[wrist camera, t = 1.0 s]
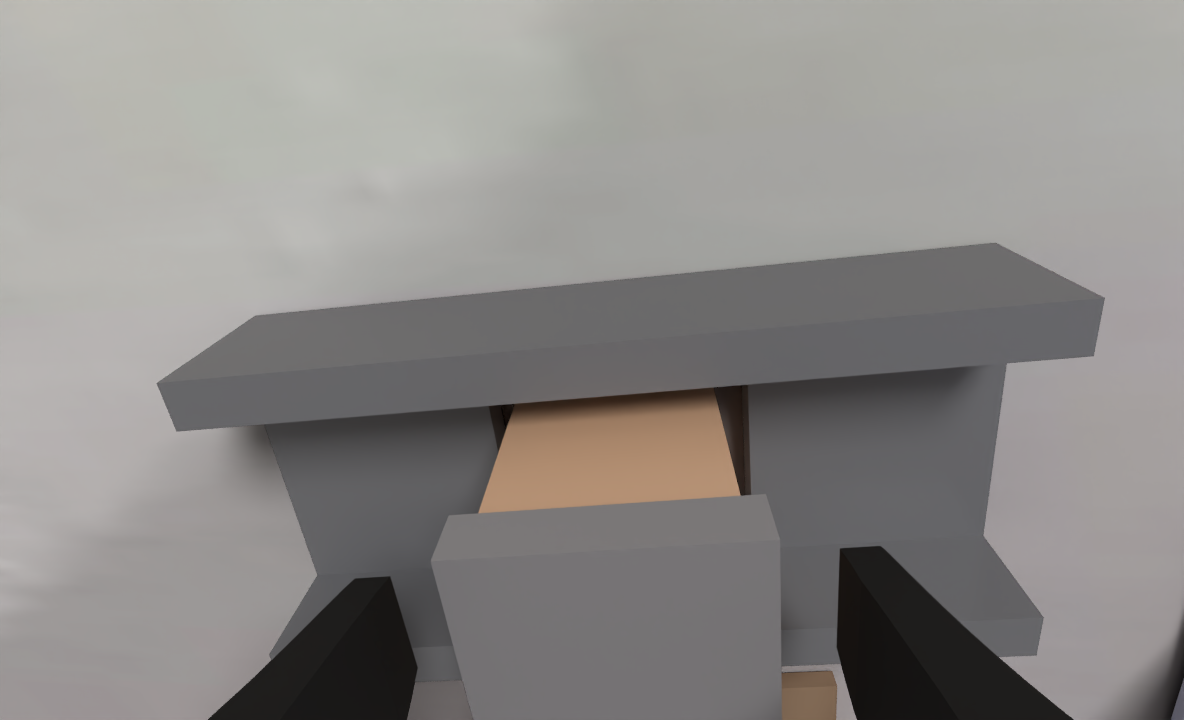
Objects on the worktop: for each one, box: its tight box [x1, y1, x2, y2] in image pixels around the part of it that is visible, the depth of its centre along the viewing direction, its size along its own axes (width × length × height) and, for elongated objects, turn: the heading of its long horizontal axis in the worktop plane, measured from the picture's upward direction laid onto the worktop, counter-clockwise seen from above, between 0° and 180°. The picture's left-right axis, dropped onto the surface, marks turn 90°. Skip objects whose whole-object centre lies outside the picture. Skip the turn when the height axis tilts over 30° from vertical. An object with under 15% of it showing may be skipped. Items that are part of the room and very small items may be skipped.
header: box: [157, 243, 1105, 682], centre depth 15 cm, size 16×8×4 cm, turn 97°
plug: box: [431, 387, 782, 720], centre depth 13 cm, size 5×5×7 cm
